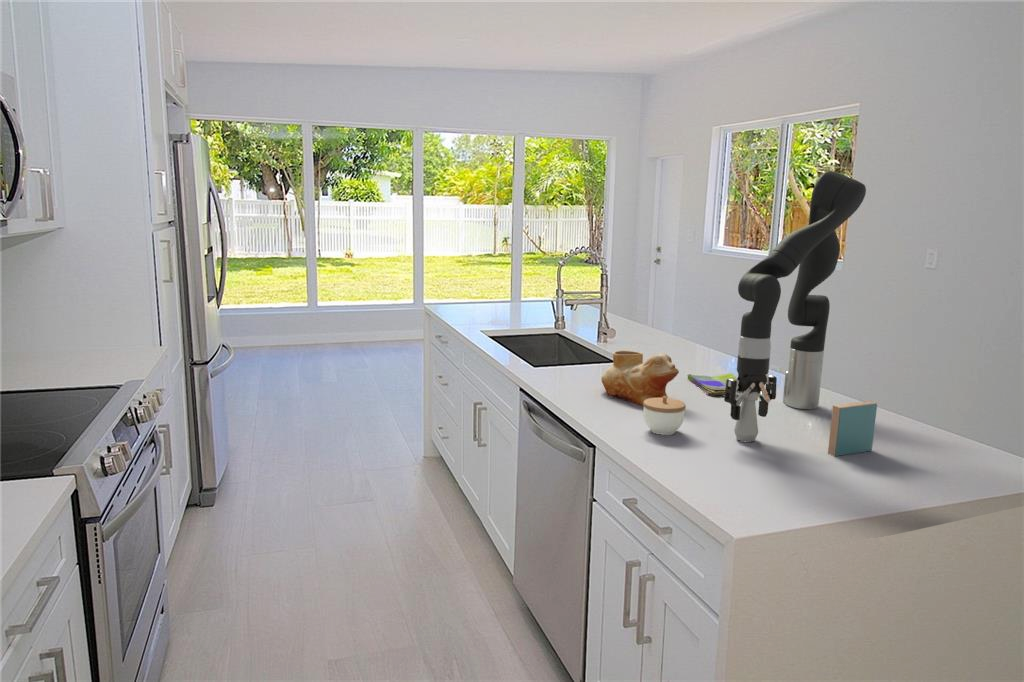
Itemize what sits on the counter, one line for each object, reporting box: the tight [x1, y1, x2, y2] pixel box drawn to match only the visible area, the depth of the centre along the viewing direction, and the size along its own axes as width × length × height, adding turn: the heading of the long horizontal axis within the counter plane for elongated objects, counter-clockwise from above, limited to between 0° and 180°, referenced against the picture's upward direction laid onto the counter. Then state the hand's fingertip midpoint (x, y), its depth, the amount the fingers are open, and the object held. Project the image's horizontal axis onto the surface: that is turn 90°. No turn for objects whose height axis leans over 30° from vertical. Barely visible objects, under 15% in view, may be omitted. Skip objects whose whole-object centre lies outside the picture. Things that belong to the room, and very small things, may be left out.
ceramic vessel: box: [601, 350, 680, 407], centre depth 216 cm, size 14×26×15 cm, turn 40°
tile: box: [827, 400, 878, 457], centre depth 171 cm, size 2×12×12 cm, turn 113°
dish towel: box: [687, 373, 741, 396], centre depth 232 cm, size 18×24×3 cm
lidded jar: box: [643, 396, 686, 436], centre depth 184 cm, size 11×11×9 cm
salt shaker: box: [733, 392, 759, 443], centre depth 178 cm, size 6×6×13 cm
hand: (748, 417), depth 178 cm, fingers open, 8 cm apart
